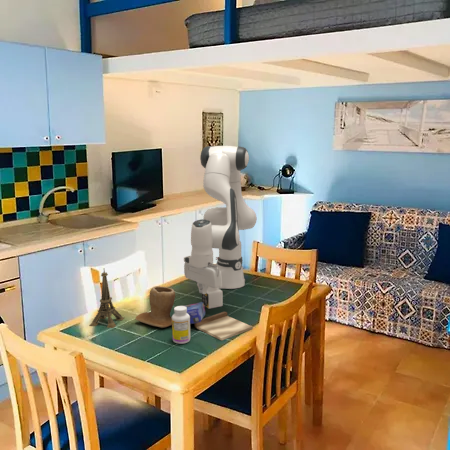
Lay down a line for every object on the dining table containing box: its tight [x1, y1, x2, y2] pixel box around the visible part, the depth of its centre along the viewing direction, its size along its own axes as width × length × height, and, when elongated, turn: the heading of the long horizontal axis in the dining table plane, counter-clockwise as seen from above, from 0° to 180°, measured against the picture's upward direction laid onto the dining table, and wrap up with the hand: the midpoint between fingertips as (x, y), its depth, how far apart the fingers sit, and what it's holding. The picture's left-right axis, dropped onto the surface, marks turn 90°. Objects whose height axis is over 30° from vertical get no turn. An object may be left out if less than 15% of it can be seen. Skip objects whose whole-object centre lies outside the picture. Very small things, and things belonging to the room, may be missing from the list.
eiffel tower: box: [88, 269, 125, 329], centre depth 202 cm, size 11×11×25 cm
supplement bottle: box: [171, 305, 191, 345], centre depth 185 cm, size 7×7×13 cm
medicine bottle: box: [201, 286, 224, 310], centre depth 221 cm, size 7×7×12 cm
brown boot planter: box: [134, 285, 176, 329], centre depth 202 cm, size 15×12×15 cm
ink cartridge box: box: [184, 301, 206, 325], centre depth 200 cm, size 10×6×14 cm
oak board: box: [193, 311, 253, 341], centre depth 197 cm, size 16×16×2 cm
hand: (202, 293), depth 204 cm, fingers closed
